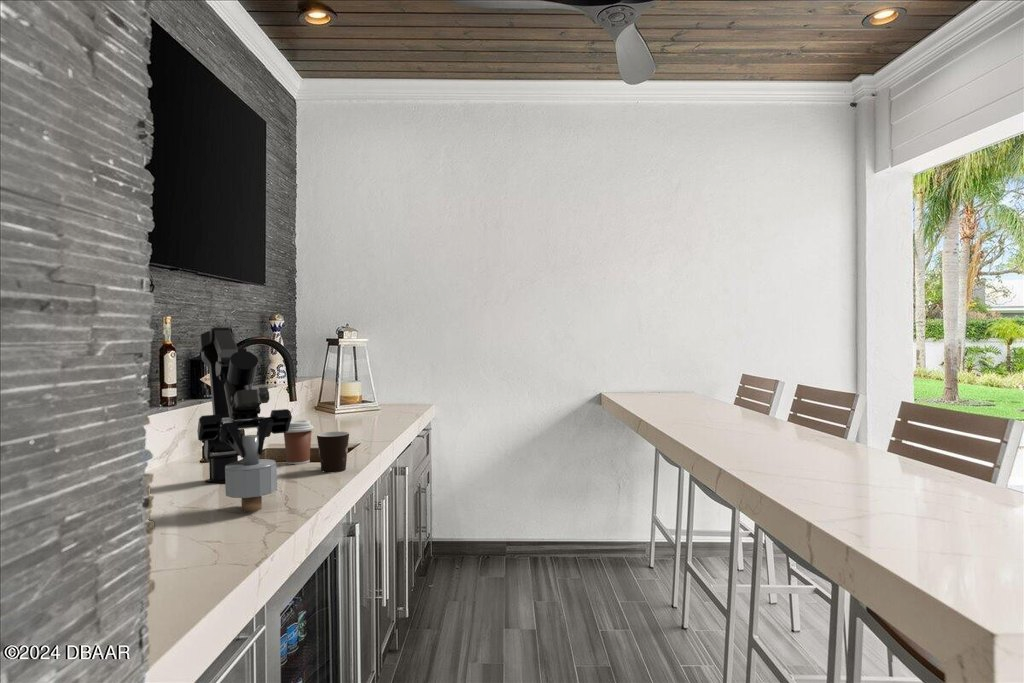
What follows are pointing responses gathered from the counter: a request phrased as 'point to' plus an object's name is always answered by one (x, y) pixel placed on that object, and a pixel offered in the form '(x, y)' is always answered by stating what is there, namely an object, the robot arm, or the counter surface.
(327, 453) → the coffee mug
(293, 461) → the coffee cup
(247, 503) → the walnut puck
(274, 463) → the slate cloche
